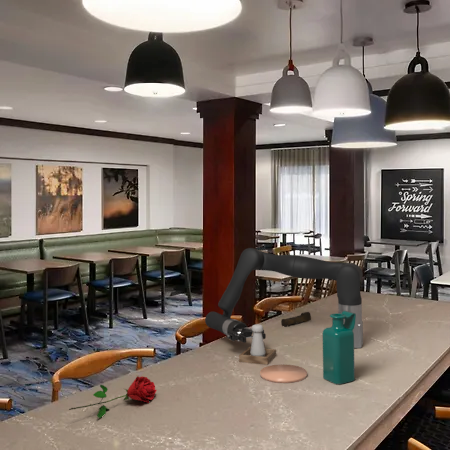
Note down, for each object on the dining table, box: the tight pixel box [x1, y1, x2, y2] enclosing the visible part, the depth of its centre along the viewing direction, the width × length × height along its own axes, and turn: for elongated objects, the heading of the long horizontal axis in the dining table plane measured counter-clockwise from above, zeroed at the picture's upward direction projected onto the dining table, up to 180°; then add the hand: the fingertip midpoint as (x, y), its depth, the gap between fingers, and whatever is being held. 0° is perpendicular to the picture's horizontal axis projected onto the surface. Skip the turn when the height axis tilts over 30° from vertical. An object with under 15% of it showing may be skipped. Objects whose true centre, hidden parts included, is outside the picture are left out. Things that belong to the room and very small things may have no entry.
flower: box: [68, 375, 157, 419], centre depth 152 cm, size 9×10×30 cm
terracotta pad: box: [259, 363, 308, 384], centre depth 178 cm, size 16×16×1 cm
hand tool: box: [280, 311, 312, 328], centre depth 249 cm, size 19×4×5 cm, turn 127°
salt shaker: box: [250, 323, 266, 357], centre depth 196 cm, size 6×6×13 cm
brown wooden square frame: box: [238, 346, 277, 366], centre depth 196 cm, size 11×11×2 cm
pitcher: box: [321, 311, 356, 385], centre depth 172 cm, size 10×8×22 cm
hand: (255, 338), depth 198 cm, fingers open, 8 cm apart
